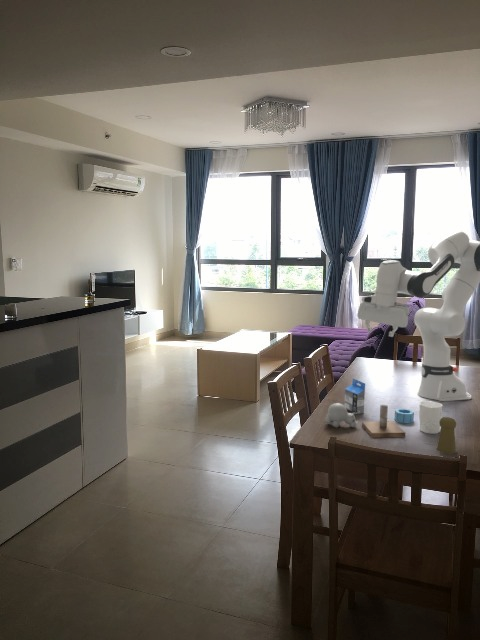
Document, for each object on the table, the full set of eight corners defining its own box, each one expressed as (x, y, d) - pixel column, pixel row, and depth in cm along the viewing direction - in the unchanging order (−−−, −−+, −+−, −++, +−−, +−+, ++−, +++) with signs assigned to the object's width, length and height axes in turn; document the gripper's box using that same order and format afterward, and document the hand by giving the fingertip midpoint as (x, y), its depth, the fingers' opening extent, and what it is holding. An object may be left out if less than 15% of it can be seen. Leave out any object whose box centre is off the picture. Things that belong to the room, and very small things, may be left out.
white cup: (414, 427, 199) (416, 401, 198) (435, 426, 200) (436, 400, 198) (423, 434, 191) (425, 407, 190) (444, 434, 192) (446, 407, 191)
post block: (393, 425, 201) (394, 400, 200) (405, 436, 190) (406, 410, 188) (362, 425, 201) (362, 401, 199) (371, 437, 189) (372, 411, 187)
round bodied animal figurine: (351, 437, 196) (361, 418, 194) (321, 422, 199) (331, 403, 196) (354, 430, 203) (363, 411, 200) (325, 416, 205) (333, 397, 203)
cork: (439, 445, 181) (441, 414, 180) (457, 449, 178) (460, 417, 176) (434, 451, 177) (436, 419, 175) (453, 455, 173) (455, 422, 172)
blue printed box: (343, 408, 222) (344, 379, 220) (351, 407, 223) (352, 378, 222) (356, 414, 214) (357, 384, 212) (364, 413, 215) (365, 383, 213)
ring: (409, 417, 210) (409, 408, 210) (415, 423, 204) (416, 413, 203) (392, 417, 210) (393, 408, 209) (398, 423, 203) (399, 414, 203)
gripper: (413, 304, 212) (407, 338, 214) (364, 296, 223) (359, 328, 225) (407, 305, 206) (402, 340, 209) (358, 296, 218) (353, 330, 220)
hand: (379, 334), depth 217 cm, fingers open, 8 cm apart
